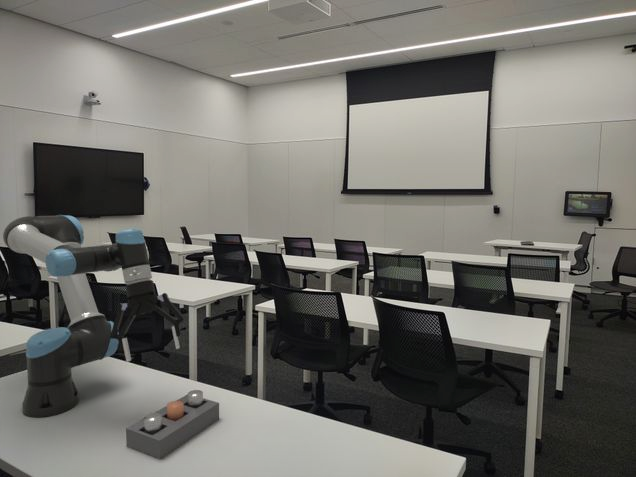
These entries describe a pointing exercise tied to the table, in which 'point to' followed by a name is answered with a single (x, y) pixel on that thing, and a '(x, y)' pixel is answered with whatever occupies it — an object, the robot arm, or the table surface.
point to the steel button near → (152, 423)
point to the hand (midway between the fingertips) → (153, 354)
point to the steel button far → (195, 398)
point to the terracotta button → (175, 410)
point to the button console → (172, 429)
